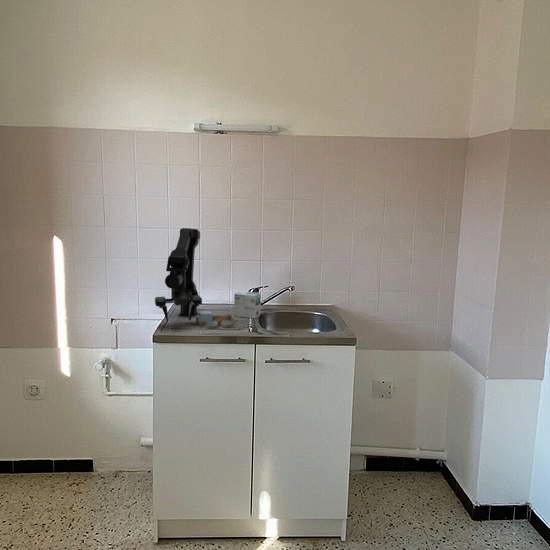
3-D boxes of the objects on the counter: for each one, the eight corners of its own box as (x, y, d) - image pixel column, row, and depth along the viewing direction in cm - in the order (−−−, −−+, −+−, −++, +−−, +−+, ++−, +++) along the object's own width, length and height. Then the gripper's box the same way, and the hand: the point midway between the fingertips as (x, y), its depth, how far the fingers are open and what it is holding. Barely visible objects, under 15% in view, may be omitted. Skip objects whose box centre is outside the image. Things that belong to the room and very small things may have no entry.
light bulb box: (260, 315, 223) (261, 292, 221) (255, 319, 216) (256, 295, 214) (239, 313, 226) (239, 290, 224) (233, 316, 220) (233, 293, 218)
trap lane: (202, 329, 197) (202, 324, 197) (195, 321, 209) (195, 316, 209) (240, 327, 202) (240, 322, 202) (231, 319, 215) (231, 314, 214)
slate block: (200, 325, 203) (200, 314, 202) (198, 322, 208) (198, 311, 207) (212, 325, 205) (212, 313, 204) (209, 322, 209) (209, 310, 208)
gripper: (157, 288, 189) (157, 327, 191) (204, 286, 195) (204, 324, 198) (154, 283, 199) (154, 320, 202) (199, 281, 205) (199, 317, 208)
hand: (178, 320), depth 202 cm, fingers open, 9 cm apart
